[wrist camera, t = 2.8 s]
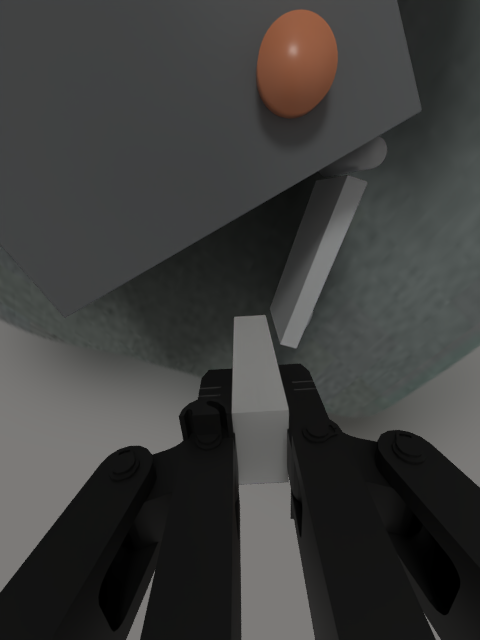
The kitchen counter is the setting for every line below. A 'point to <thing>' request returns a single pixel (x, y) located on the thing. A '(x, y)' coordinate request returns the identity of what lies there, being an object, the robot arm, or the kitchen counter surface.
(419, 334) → the kitchen counter surface
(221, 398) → the robot arm
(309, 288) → the side door
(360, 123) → the block
